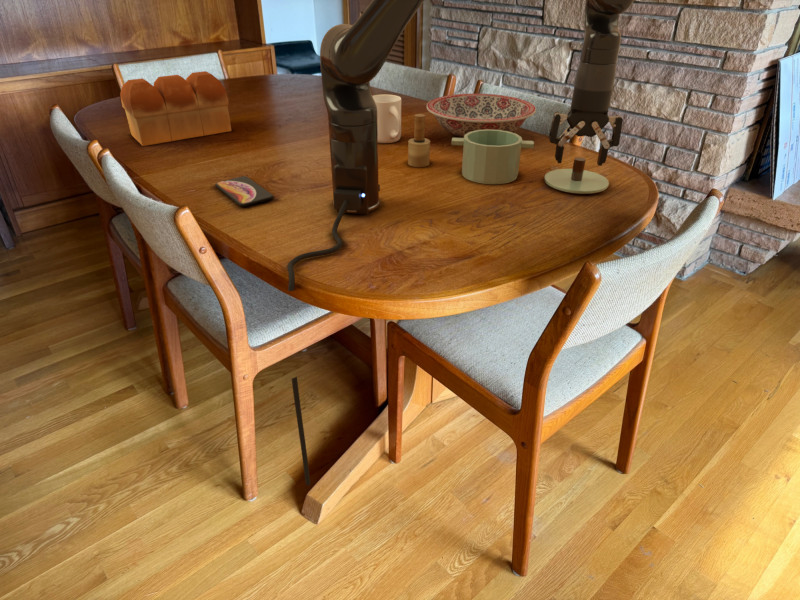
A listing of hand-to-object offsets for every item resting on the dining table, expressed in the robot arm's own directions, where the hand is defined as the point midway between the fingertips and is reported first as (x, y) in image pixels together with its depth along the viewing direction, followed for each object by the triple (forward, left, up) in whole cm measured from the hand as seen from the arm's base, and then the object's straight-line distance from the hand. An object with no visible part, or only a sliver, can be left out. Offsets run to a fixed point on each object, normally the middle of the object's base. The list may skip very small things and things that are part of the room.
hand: (579, 163), depth 123 cm
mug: (+26, +46, -5) cm, 53 cm away
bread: (+25, +104, -5) cm, 107 cm away
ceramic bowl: (+34, +22, -5) cm, 41 cm away
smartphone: (-15, +71, -5) cm, 73 cm away
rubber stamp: (+9, +36, -5) cm, 37 cm away
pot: (+4, +19, -5) cm, 20 cm away
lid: (0, 0, -4) cm, 4 cm away
